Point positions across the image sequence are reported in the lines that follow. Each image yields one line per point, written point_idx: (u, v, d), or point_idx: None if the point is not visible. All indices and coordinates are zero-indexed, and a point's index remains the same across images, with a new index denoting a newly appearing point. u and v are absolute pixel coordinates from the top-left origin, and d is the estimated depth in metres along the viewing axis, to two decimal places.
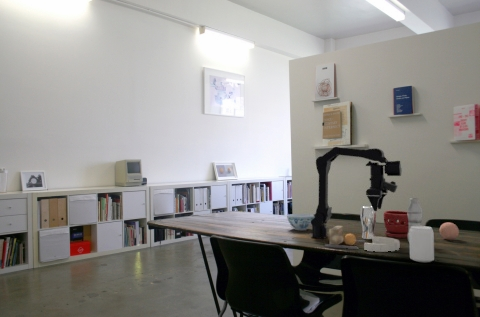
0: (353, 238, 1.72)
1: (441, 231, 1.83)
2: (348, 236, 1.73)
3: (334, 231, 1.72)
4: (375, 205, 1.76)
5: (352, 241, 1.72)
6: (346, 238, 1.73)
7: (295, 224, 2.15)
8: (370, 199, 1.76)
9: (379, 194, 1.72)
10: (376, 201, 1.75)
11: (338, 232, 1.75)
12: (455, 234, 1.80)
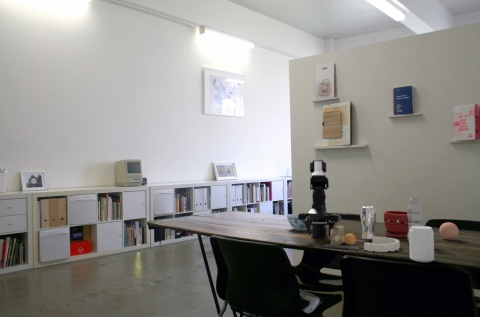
0: (353, 238, 1.72)
1: (441, 231, 1.83)
2: (348, 236, 1.73)
3: (335, 231, 1.71)
4: None
5: (352, 241, 1.72)
6: (346, 238, 1.73)
7: (295, 224, 2.15)
8: None
9: (298, 218, 1.83)
10: None
11: (339, 232, 1.74)
12: (455, 234, 1.80)
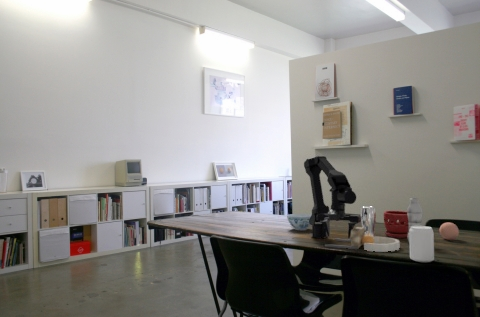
0: (363, 243, 1.70)
1: (441, 231, 1.83)
2: None
3: (356, 232, 1.67)
4: None
5: (363, 240, 1.70)
6: None
7: (295, 224, 2.15)
8: None
9: (316, 219, 1.79)
10: None
11: (360, 233, 1.70)
12: (455, 234, 1.80)
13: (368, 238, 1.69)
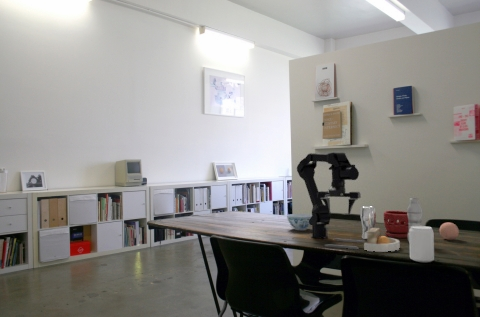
0: (385, 238, 1.66)
1: (441, 231, 1.83)
2: (379, 239, 1.66)
3: (372, 234, 1.64)
4: None
5: (386, 241, 1.65)
6: (379, 242, 1.66)
7: (295, 224, 2.15)
8: None
9: (317, 196, 1.84)
10: None
11: (376, 235, 1.67)
12: (455, 234, 1.80)
13: None
